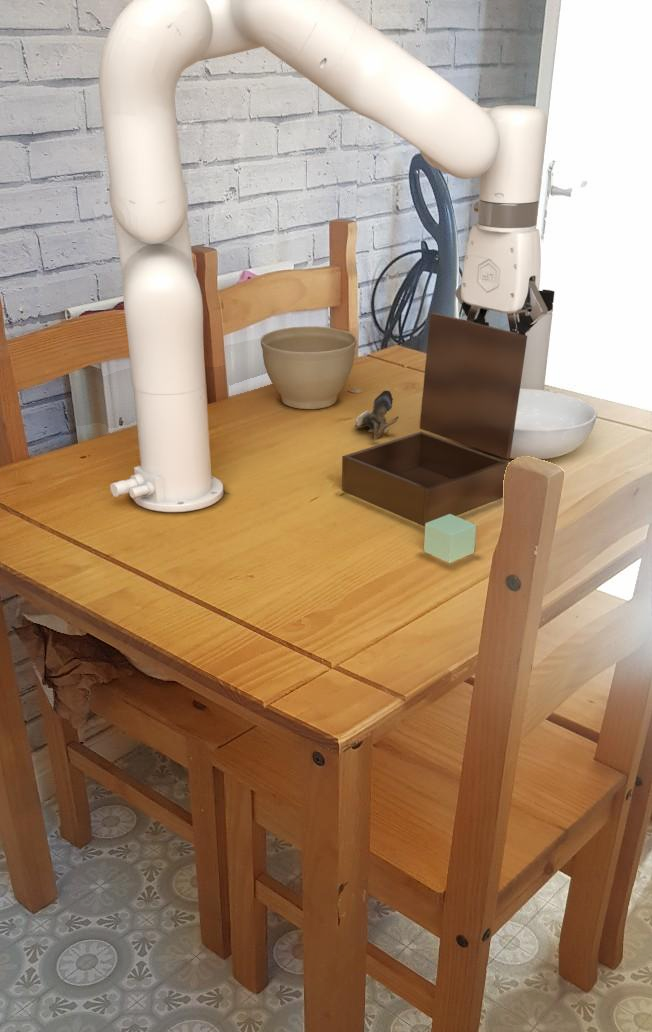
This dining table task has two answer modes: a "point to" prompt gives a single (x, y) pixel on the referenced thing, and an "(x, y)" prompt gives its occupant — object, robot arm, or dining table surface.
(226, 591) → the dining table surface
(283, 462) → the dining table surface
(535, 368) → the travel mug
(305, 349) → the planter bowl
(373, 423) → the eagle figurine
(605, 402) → the dining table surface
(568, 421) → the serving bowl
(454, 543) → the block
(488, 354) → the lid
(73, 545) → the dining table surface
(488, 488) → the box
